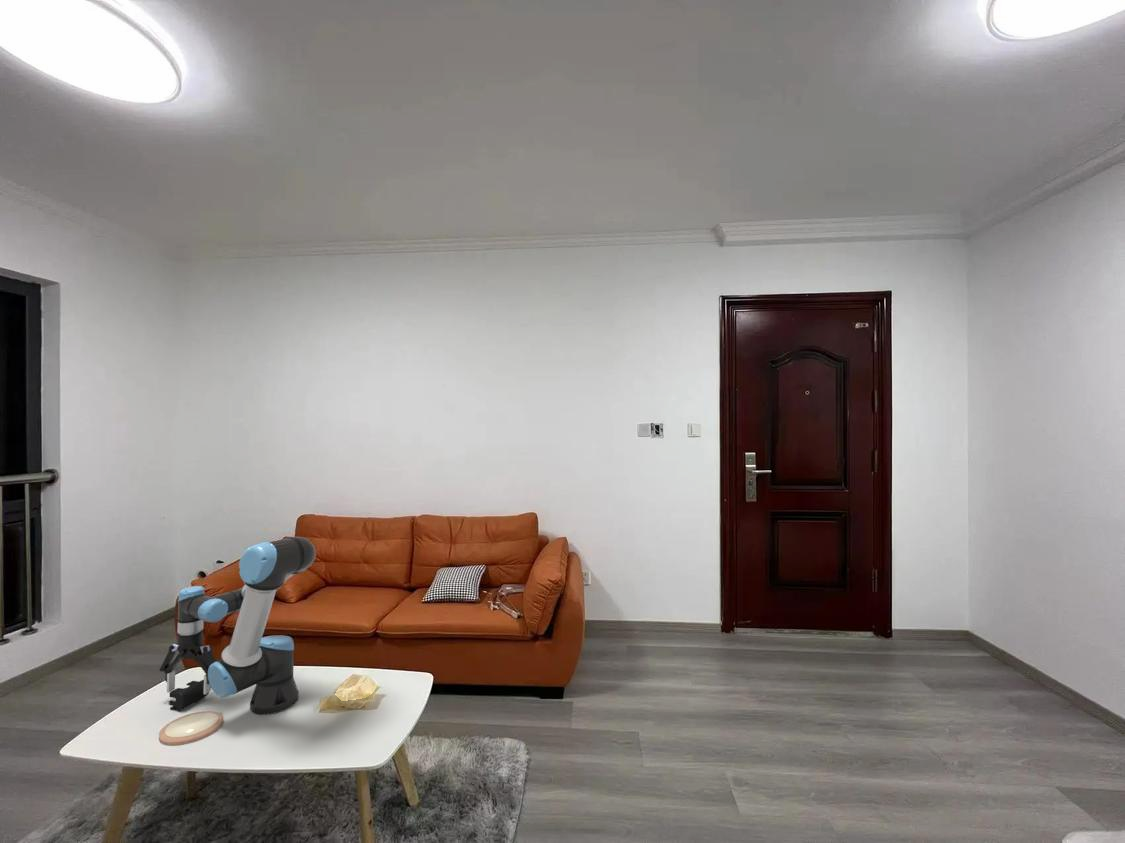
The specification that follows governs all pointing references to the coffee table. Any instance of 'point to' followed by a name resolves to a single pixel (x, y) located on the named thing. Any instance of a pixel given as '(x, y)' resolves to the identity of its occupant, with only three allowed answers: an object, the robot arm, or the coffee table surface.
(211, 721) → the plate
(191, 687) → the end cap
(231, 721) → the coffee table surface
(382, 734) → the coffee table surface
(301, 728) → the coffee table surface
